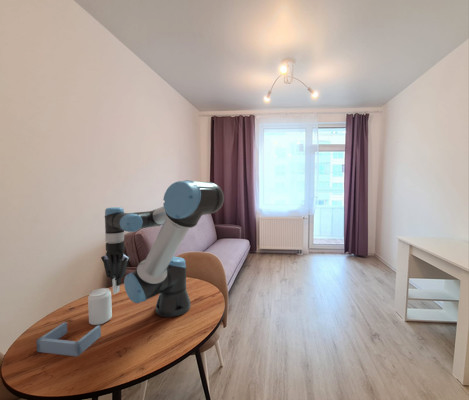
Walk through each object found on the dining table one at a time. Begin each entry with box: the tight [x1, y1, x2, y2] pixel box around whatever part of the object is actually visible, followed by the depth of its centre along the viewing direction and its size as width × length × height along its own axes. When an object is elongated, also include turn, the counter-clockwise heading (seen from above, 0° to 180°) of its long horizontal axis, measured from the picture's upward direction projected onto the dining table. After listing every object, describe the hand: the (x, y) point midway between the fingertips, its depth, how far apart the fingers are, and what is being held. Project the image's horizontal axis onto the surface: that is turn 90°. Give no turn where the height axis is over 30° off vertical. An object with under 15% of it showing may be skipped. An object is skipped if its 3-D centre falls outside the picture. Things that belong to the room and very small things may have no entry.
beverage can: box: [87, 287, 113, 326], centre depth 90 cm, size 8×8×12 cm
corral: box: [35, 321, 102, 358], centre depth 76 cm, size 15×10×4 cm, turn 81°
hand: (116, 292), depth 100 cm, fingers closed
